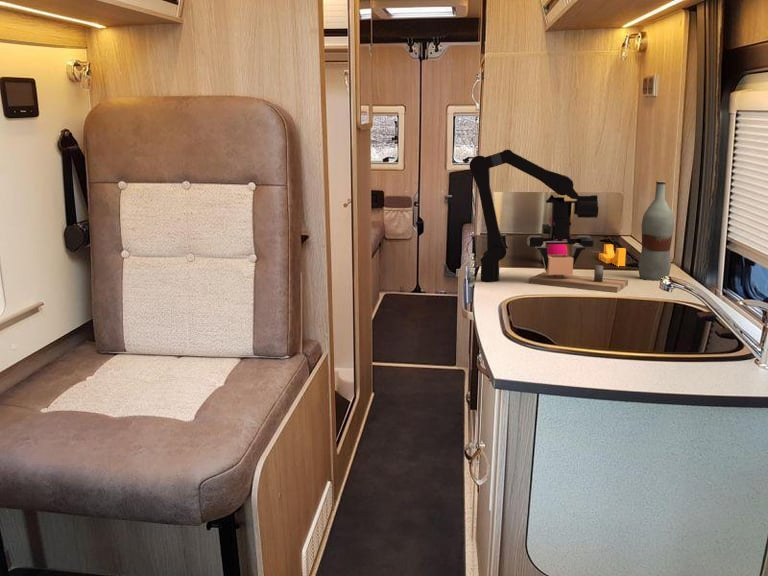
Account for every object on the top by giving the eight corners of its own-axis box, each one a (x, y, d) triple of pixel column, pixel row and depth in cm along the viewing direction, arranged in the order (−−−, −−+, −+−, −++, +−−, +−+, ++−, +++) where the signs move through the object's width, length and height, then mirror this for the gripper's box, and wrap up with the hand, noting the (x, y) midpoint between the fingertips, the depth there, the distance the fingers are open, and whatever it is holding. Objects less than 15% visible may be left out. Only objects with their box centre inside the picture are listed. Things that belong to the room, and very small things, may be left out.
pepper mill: (552, 267, 216) (555, 209, 212) (541, 264, 223) (544, 208, 219) (570, 266, 218) (573, 209, 214) (559, 263, 225) (562, 207, 221)
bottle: (636, 279, 193) (643, 181, 187) (638, 274, 201) (644, 180, 195) (670, 281, 189) (678, 181, 183) (670, 276, 197) (677, 180, 191)
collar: (572, 274, 186) (573, 258, 185) (548, 274, 186) (549, 258, 185) (567, 270, 193) (568, 254, 192) (544, 270, 193) (545, 254, 192)
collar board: (617, 292, 175) (618, 271, 173) (528, 283, 189) (529, 263, 188) (627, 285, 184) (629, 265, 183) (543, 276, 199) (543, 258, 198)
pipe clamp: (598, 262, 227) (599, 244, 226) (609, 261, 228) (611, 244, 227) (612, 267, 216) (613, 249, 214) (624, 267, 216) (626, 248, 215)
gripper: (586, 215, 193) (583, 265, 196) (525, 215, 195) (523, 264, 198) (595, 218, 182) (592, 271, 185) (531, 218, 184) (528, 270, 187)
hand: (558, 269), depth 189 cm, fingers closed on collar, 7 cm apart
